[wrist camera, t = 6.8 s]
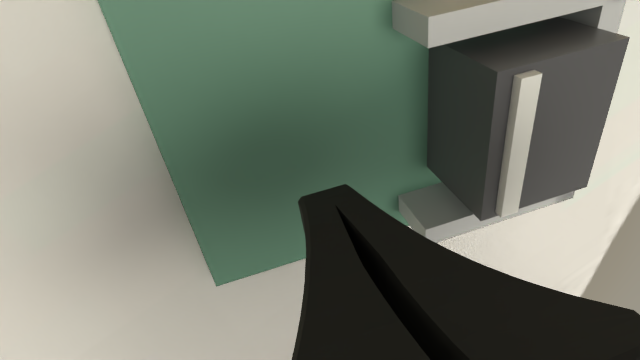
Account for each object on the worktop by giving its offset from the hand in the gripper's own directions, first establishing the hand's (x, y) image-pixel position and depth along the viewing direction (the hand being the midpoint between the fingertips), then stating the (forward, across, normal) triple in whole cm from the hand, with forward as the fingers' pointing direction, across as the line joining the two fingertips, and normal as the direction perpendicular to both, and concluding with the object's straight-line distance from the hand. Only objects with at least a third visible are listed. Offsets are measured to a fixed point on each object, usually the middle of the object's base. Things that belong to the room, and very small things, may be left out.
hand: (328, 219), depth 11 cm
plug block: (+4, -7, 0) cm, 8 cm away
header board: (+4, -4, -1) cm, 6 cm away
